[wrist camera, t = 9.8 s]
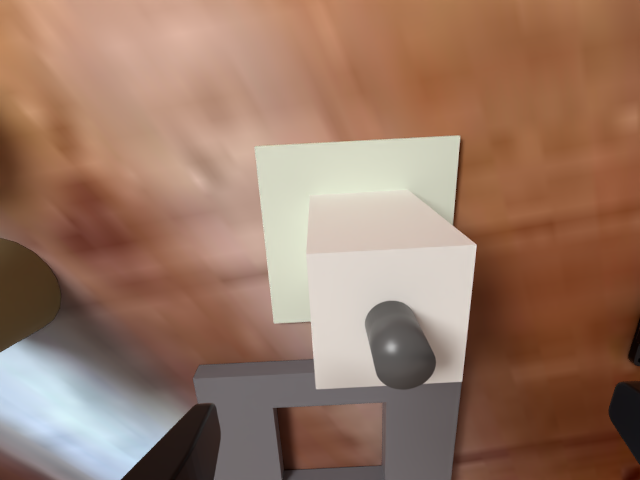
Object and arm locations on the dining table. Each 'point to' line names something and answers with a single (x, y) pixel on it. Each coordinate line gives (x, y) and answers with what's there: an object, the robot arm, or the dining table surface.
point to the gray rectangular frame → (300, 390)
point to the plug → (386, 291)
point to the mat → (333, 178)
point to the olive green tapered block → (24, 293)
